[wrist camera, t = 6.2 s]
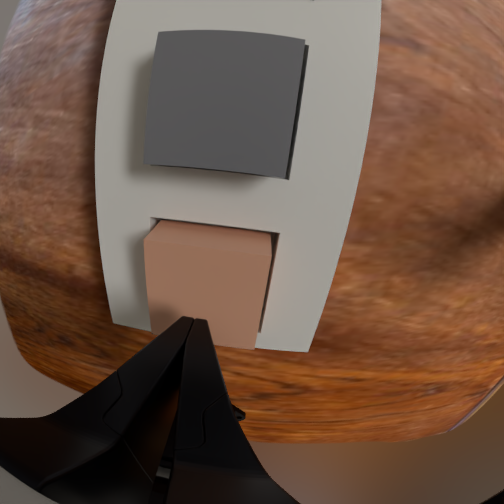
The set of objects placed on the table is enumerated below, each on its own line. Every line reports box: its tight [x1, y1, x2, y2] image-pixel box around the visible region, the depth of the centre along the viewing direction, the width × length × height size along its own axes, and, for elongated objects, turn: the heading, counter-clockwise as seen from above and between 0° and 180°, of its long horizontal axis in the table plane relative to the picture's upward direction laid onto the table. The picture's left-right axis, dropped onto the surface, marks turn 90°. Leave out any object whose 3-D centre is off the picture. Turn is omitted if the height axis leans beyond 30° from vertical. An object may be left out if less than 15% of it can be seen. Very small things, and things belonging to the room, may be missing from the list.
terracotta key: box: [143, 220, 272, 350], centre depth 11 cm, size 4×4×2 cm
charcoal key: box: [143, 30, 305, 178], centre depth 8 cm, size 4×4×2 cm
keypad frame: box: [95, 0, 381, 352], centre depth 9 cm, size 21×10×3 cm, turn 173°
